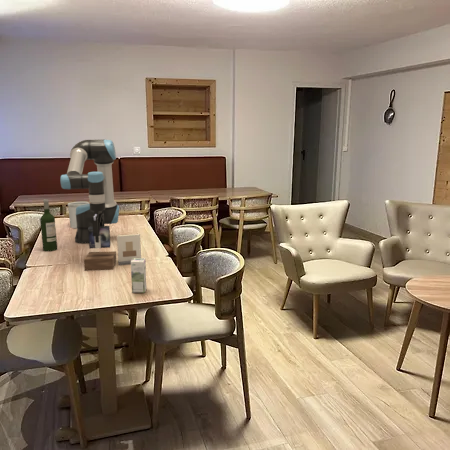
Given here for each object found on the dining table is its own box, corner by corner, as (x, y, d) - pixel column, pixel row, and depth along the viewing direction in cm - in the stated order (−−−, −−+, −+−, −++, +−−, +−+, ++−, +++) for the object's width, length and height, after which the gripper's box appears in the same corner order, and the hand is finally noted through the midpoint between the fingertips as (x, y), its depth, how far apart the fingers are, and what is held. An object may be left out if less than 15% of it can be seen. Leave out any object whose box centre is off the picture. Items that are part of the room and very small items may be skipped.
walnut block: (90, 262, 236) (89, 252, 235) (116, 262, 237) (116, 251, 236) (84, 271, 222) (83, 259, 221) (112, 270, 224) (112, 258, 223)
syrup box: (146, 288, 197) (145, 257, 194) (144, 293, 192) (143, 261, 189) (134, 288, 197) (132, 257, 194) (131, 293, 191) (130, 261, 188)
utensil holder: (68, 225, 325) (66, 202, 321) (89, 223, 331) (87, 200, 328) (70, 229, 312) (68, 205, 308) (92, 227, 318) (90, 203, 314)
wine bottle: (52, 251, 256) (48, 200, 249) (40, 251, 257) (35, 200, 251) (60, 248, 263) (55, 198, 257) (48, 247, 265) (43, 198, 258)
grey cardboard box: (118, 262, 236) (116, 234, 233) (140, 260, 240) (139, 233, 236) (118, 265, 231) (117, 237, 227) (141, 263, 234) (140, 235, 231)
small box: (88, 249, 223) (87, 228, 221) (89, 246, 230) (88, 226, 227) (110, 247, 226) (109, 227, 224) (110, 244, 232) (109, 225, 230)
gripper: (95, 199, 232) (97, 241, 237) (84, 205, 213) (87, 251, 218) (109, 199, 233) (111, 241, 237) (99, 205, 213) (102, 251, 218)
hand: (100, 246), depth 228 cm, fingers closed on small box, 7 cm apart
